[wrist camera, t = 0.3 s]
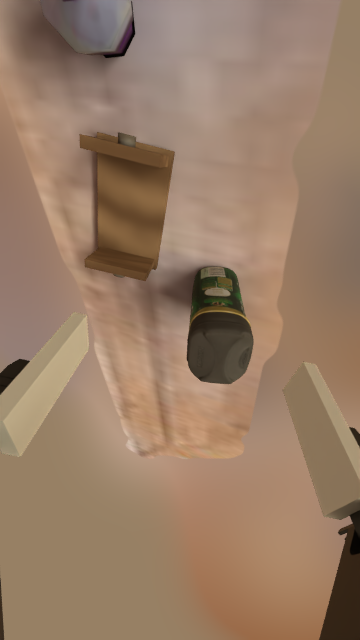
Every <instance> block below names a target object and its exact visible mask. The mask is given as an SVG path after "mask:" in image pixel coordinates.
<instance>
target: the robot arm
mask: <svg viewBox="0 0 360 640" xmlns="http://www.w3.org/2000/svg"><path fill="white" fill-rule="evenodd" d="M88 350H89V341H88V325H87V315H85V314H80V313H76V312H74V313H73V314H72V315H71V316H70V317H69V318H68V319H67V321H66V322H65V323H64V324H63V325H62V326H61V327H60V328H59V329H58V331H57V332H56V333H55V334H54V335H53V336H52V337H51V338H50V340H49V341H48V342H47V343H46V344H45V345H44V347H43V348H42V349H41V350H40V351H39V352H38V353H37V354H36V355H35V356H34V358H33V359H32V360H31V361H27V360H22V359H19V360H17V361H15V362H13V363H12V364H10V365H8V366H7V367H6V368H5V369H4V370H3V371H2V372H1V373H0V450H1V452H2V453H3V454H9V455H14V456H19V457H21V455H22V454H23V452H24V450H25V449H26V447H27V446H28V444H29V443H30V441H31V440H32V438H33V436H34V435H35V433H36V432H37V430H38V428H39V427H40V425H41V424H42V422H43V420H44V419H45V417H46V416H47V414H48V413H49V411H50V410H51V408H52V406H53V405H54V403H55V401H56V400H57V398H58V397H59V395H60V394H61V392H62V391H63V389H64V387H65V386H66V384H67V383H68V381H69V380H70V378H71V376H72V375H73V373H74V372H75V370H76V369H77V367H78V365H79V364H80V362H81V361H82V359H83V357H84V356H85V354H86V353H87V351H88ZM283 393H284V396H285V399H286V402H287V405H288V408H289V411H290V414H291V417H292V420H293V423H294V426H295V429H296V433H297V436H298V439H299V442H300V445H301V448H302V451H303V454H304V457H305V460H306V463H307V467H308V470H309V473H310V476H311V479H312V482H313V485H314V488H315V491H316V494H317V497H318V500H319V503H320V507H321V509H322V513H323V516H324V517H329V518H335V519H339V520H341V519H343V518H346V517H348V516H350V517H351V520H352V522H353V524H351V525H349V526H346V527H344V528H341V529H340V530H339V532H338V533H339V534H340V535H342V534H345V533H347V536H346V538H345V544H344V548H343V551H342V555H341V559H340V563H339V567H338V570H337V574H336V578H335V582H334V586H333V589H332V594H331V597H330V601H329V605H328V608H327V612H326V617H325V620H324V624H323V628H322V631H321V635H320V639H319V640H360V434H359V433H358V432H357V431H356V429H355V428H351V427H348V425H347V423H346V421H345V419H344V417H343V415H342V413H341V412H340V410H339V408H338V406H337V404H336V402H335V400H334V398H333V396H332V394H331V392H330V391H329V389H328V387H327V385H326V383H325V381H324V379H323V377H322V376H321V374H320V372H319V370H318V368H317V366H316V364H312V363H307V362H303V363H302V364H301V366H300V367H299V368H298V370H297V371H296V372H295V374H294V375H293V376H292V378H291V379H290V381H289V382H288V383H287V385H286V386H285V387H284V389H283ZM0 640H4V630H3V613H2V597H1V580H0Z"/></svg>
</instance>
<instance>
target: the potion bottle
mask: <svg viewBox="0 0 360 640" xmlns="http://www.w3.org/2000/svg"><path fill="white" fill-rule="evenodd" d="M40 3H41V7H42V11H43V15H44V17H45V18H46V19H47V20H48V21H49V22H50V24H51V25H52V26H53V27H54V28H55V29H56V30H57V31H58V32H59V34H60V35H61V36H62V37H63V38H64V39H65V40H66V41H67V42H68V44H69V45H70V46H71V47H72V48H73V49H74V50H75V51H76V52H77V53H82V54H88V55H95V54H102V55H104V56H105V58H110V57H120V56H124V55H125V53H126V51H127V49H128V47H129V45H130V43H131V41H132V39H133V37H134V35H135V27H134V17H133V7H132V1H131V0H40Z"/></svg>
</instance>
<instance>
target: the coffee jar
mask: <svg viewBox="0 0 360 640" xmlns="http://www.w3.org/2000/svg"><path fill="white" fill-rule="evenodd" d="M252 349H253V335H252V331H251V326H250V323H249V321H248V319H247V318H246V315H245V312H244V307H243V303H242V299H241V294H240V288H239V283H238V279H237V276H236V274H235V273H234V272H233V271H232V270H230V269H228V268H223V267H206V268H203V269H201V270H200V271H199V272H198V273H197V274H196V276H195V280H194V286H193V294H192V306H191V315H190V326H189V334H188V345H187V361H188V366H189V368H190V370H191V372H192V373H193V374H194V375H195V376H196V377H197V378H198V379H199V380H200V381H203V382H209V383H219V384H231V383H233V382H234V381H236V380H237V379H239V378H240V377H241V376H242V375H243V374H244V373H245V372H246V370H247V367H248V364H249V361H250V358H251V354H252Z"/></svg>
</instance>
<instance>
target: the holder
mask: <svg viewBox="0 0 360 640" xmlns="http://www.w3.org/2000/svg"><path fill="white" fill-rule="evenodd" d="M80 148H83V149H87V150H91V151H95V152H97V184H98V249H97V250H96V251H95V252H94V253H92V254H91V255H90V256H88V257H87V258H86V259H85V267H87V268H91V269H96V270H100V271H104V272H108V273H113V275H114V276H116V277H125V276H126V277H130V278H134V279H139V280H143V281H146V279H147V277H148V275H149V273H150V271H151V269H154V270H156V268H157V264H158V258H159V251H160V245H161V238H162V232H163V225H164V219H165V212H166V206H167V199H168V193H169V186H170V180H171V173H172V166H173V160H174V153H175V152H174V151H170V150H166V149H162V148H158V147H154V146H150V145H146V144H142V143H138V142H136V137H134V136H131V135H127V134H123V133H119V132H118V137H115V136H111V135H107V134H103V133H99V132H97V138H95V137H90V136H86V135H81V134H80Z"/></svg>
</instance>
